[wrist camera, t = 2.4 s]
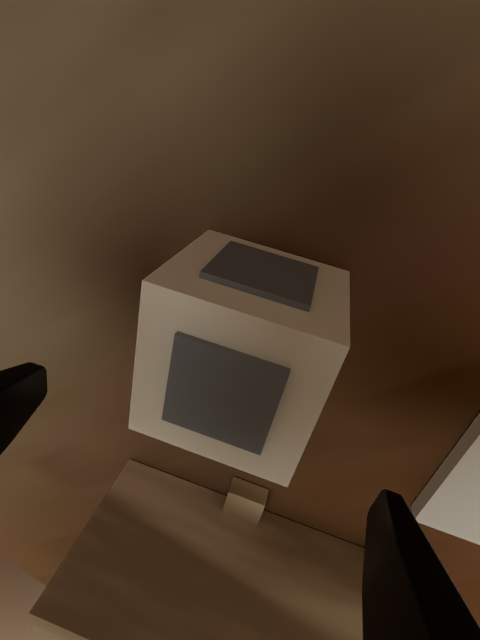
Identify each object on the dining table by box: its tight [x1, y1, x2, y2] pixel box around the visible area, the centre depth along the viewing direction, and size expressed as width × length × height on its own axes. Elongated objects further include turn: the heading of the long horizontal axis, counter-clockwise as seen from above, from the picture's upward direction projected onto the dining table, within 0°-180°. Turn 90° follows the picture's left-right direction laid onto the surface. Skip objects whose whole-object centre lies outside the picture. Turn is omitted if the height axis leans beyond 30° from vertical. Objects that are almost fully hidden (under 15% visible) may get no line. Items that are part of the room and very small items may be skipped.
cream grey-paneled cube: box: [128, 230, 350, 488], centre depth 13 cm, size 6×6×6 cm
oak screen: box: [29, 459, 365, 640], centre depth 18 cm, size 5×16×8 cm, turn 77°
